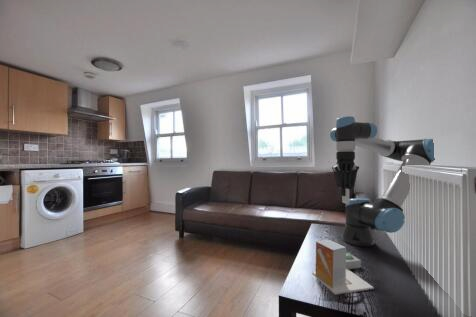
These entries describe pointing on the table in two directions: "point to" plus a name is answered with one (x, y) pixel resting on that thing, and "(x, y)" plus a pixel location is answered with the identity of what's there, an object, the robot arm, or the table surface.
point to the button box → (353, 263)
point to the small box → (331, 263)
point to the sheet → (349, 284)
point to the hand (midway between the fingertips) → (345, 203)
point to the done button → (348, 256)
